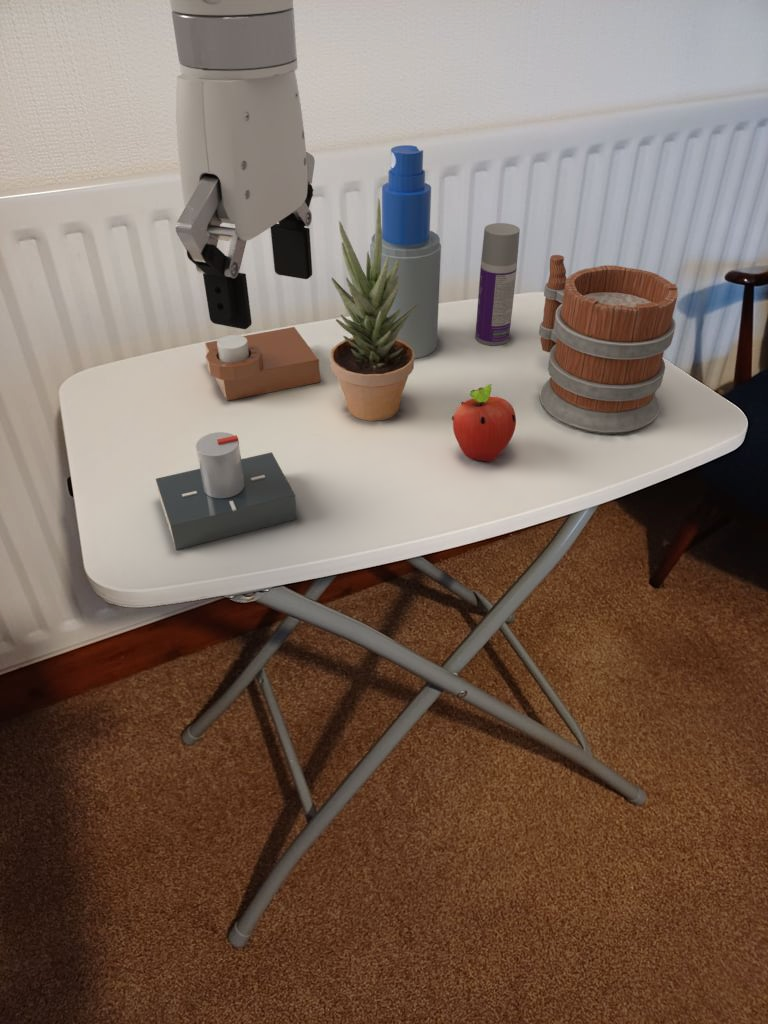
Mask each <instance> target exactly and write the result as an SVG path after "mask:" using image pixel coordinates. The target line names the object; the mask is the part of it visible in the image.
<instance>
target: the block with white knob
mask: <svg viewBox="0 0 768 1024" xmlns="http://www.w3.org/2000/svg"><path fill="white" fill-rule="evenodd" d="M243 336H244V337H245V338H246V339H247V341H248V349H249V358H247V359H245V360H243V361H240V362H234V363H233V362H223V361H221V360H220V359H219V354H218V347H217V341H218V340H212V341H209V342H205V343H204V345H205V351H206V355H205V361H206V367H207V372H209V375H210V376H211V377H214V378H215V381H216V382H217V385H218V386H219V388H220V391H221V392H222V394H223V397H224V399H225V400H226V401H227V402H229V401H234V400H239V399H243V398H244V399H245V398H248V397H253V396H258V395H263V394H269V393H273V392H278V391H282V390H288V389H292V388H299V387H303V386H307V385H312V384H317V383H320V382H321V377H320V376H321V374H320V373H321V372H320V360H319V358H318V356H317V355H316V354H315V353H314V351H313V350H312V349H311V347H310V345H308V343H307V342H306V340H305V339H304V338H303V337H302V335H301V334H300V332H299V331H298V330H297V328H296V327H295V326H292V327H291V326H290V327H286V328H285V327H284V328H280V329H274V330H270V331H263V332H259V333H258V332H257V333H252V334H248V335H243Z"/></svg>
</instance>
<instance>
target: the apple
mask: <svg viewBox="0 0 768 1024" xmlns="http://www.w3.org/2000/svg"><path fill="white" fill-rule="evenodd" d="M491 393H492V383H491V384H488V385H485V386H484V387H478V389H472V390H471V391H470V393H468V395H469V396H470V397H471V398H470V399H467V400H465V401H462V402H460V404H459V406H458V407H457V408H456V409H455V412H454V414H453V415H452V417H451V420H452V428H453V434H454V438H455V439H456V441H457V443H458V446H459V448H460V450H461V452H462V453H463V454H464V455H465V456H466V457H467V458H468V459H470V460H475V461H482V462H487V463H489V462H493V461H494V460H496V459H497V458H498V456H500V454H501V453H502V452H503V451H504V449H505V448H506V447H507V446H508V445H509V443H510V442H511V440H512V438H513V436H514V433H515V430H516V426H517V416H516V412H515V409H514V407H513V405H512V404H511V403H510V401H508V400H507V399H504V398H502V397H499V396H492V395H491Z"/></svg>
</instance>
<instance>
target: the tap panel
mask: <svg viewBox="0 0 768 1024" xmlns="http://www.w3.org/2000/svg"><path fill="white" fill-rule="evenodd" d="M241 460H242V467H243V475H244V482H245V486H244V488H243V490H242V491H241V492H240V493H239V494H237V495H235V496H233V497H229V498H213V497H210V496H208V495H207V494H206V493H205V492H204V489H203V483H202V478H201V473H200V468H196V469H191V470H188V471H187V470H186V471H184V472H178V473H175V474H171V475H166V476H162V477H156V478H155V484H156V487H157V492H158V496H159V500H160V504H161V507H162V511H163V514H164V516H165V517H164V518H165V520H166V523H167V527H168V529H169V532H170V536H171V539H172V543H173V545H174V549H175V550H176V551H177V550H181V549H185V548H190V547H193V546H194V547H195V546H198V545H201V544H205V543H209V542H213V541H217V540H221V539H224V538H228V537H233V536H236V535H239V534H244V533H248V532H252V531H256V530H259V529H263V528H264V529H265V528H268V527H271V526H275V525H279V524H283V523H287V522H291V521H296V520H298V511H297V499H296V494H295V492H294V491H293V489H292V487H291V485H290V483H289V482H288V479H287V478H286V476H285V474H284V472H283V470H282V468H281V467H280V465H279V463H278V461H277V459H276V457H275V456H274V453H273V452H267V453H266V452H265V453H262V454H258V455H254V456H249V457H245V458H244V457H243V458H241Z"/></svg>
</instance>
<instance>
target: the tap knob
mask: <svg viewBox="0 0 768 1024" xmlns="http://www.w3.org/2000/svg"><path fill="white" fill-rule="evenodd" d="M195 450H196V455H197V462H198V466H199V469H200V473H201V478H202V483H203V489H204V492H205V493H206V494H207V495H208V496H210V497H213V498H229V497H233V496H235V495H237V494H239V493H240V492H241V491H242V490H243V488H244V486H245V482H244V475H243V467H242V460H241V459H242V453H241V447H240V440H239V437H238V435H237V434H236V435H234V434H233V433H229V432H224V431H223V432H222V431H221V432H219V431H217V432H211V433H207V434H206V435H203V436H202V437H201V438H199V439H198V440H197V442H196V443H195Z"/></svg>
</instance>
